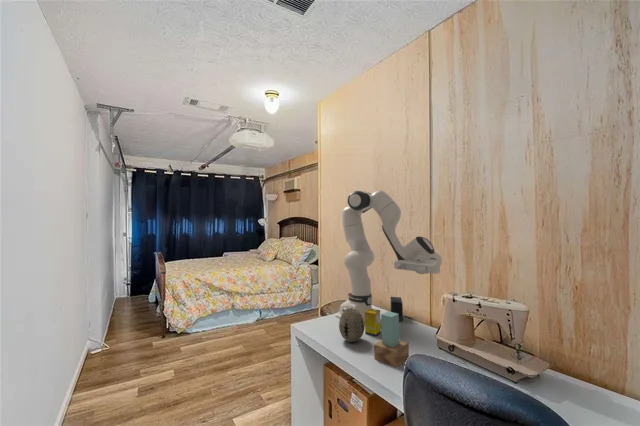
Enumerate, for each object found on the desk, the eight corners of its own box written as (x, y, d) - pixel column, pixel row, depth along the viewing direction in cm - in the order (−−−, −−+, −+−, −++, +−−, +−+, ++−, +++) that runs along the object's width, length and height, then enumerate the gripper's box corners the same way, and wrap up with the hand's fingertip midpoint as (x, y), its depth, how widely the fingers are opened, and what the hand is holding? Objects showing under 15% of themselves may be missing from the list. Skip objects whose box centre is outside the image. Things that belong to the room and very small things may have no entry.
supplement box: (370, 329, 148) (369, 308, 148) (381, 332, 144) (380, 310, 144) (364, 333, 143) (364, 311, 143) (376, 336, 139) (375, 313, 139)
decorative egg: (368, 338, 137) (367, 306, 137) (358, 348, 127) (357, 314, 127) (346, 333, 143) (345, 303, 143) (334, 342, 133) (334, 310, 133)
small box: (403, 321, 157) (402, 302, 157) (391, 321, 159) (390, 301, 159) (401, 315, 168) (401, 296, 168) (390, 314, 169) (389, 296, 169)
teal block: (382, 343, 118) (381, 314, 118) (389, 339, 122) (388, 311, 122) (392, 347, 114) (391, 317, 115) (399, 343, 118) (398, 313, 118)
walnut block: (374, 359, 118) (374, 344, 118) (386, 350, 125) (386, 336, 125) (397, 367, 111) (396, 351, 111) (408, 357, 118) (408, 343, 118)
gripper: (401, 256, 146) (386, 259, 136) (442, 259, 132) (429, 263, 122) (402, 268, 146) (387, 272, 136) (443, 273, 132) (429, 278, 122)
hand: (407, 268), depth 129 cm, fingers open, 8 cm apart
